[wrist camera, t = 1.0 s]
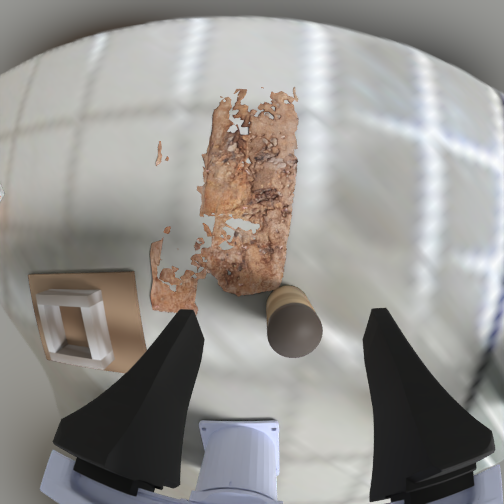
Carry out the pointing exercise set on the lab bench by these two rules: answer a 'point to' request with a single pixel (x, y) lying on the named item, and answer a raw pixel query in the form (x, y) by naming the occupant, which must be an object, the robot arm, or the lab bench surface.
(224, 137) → the bark
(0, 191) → the skincare box
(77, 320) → the holder board
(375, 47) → the lab bench surface
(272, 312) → the wood peg
